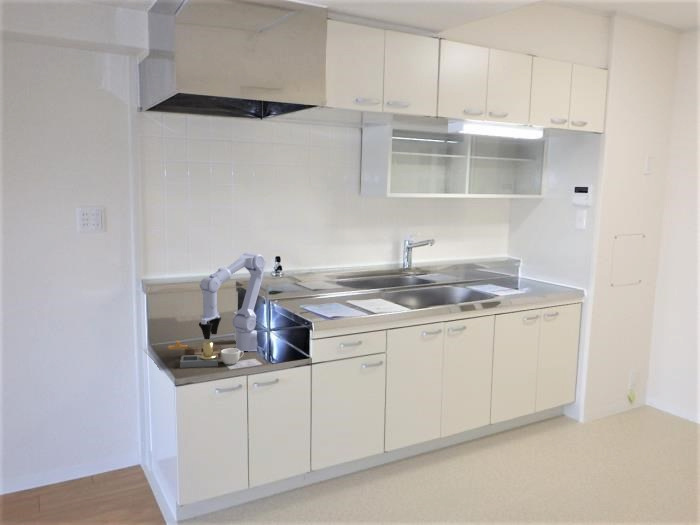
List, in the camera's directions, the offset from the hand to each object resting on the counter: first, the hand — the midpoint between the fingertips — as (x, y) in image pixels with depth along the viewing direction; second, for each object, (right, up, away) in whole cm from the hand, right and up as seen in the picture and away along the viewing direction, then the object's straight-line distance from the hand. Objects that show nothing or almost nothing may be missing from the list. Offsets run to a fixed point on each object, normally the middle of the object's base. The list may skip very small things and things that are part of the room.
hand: (210, 336), depth 247 cm
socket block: (-5, -9, +5) cm, 11 cm away
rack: (-3, -11, -6) cm, 13 cm away
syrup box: (+8, -6, +28) cm, 30 cm away
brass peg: (0, -11, -5) cm, 12 cm away
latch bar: (-15, -5, +2) cm, 16 cm away
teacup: (+10, -11, -3) cm, 15 cm away
